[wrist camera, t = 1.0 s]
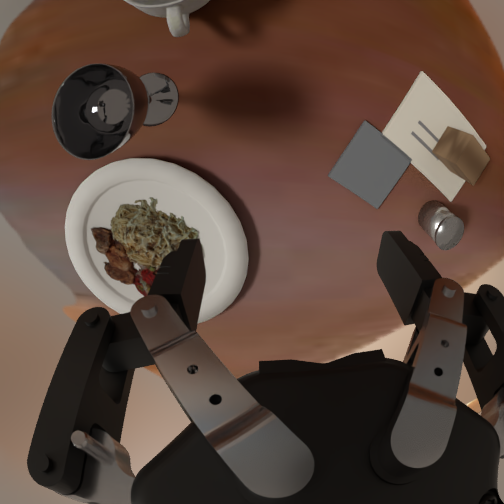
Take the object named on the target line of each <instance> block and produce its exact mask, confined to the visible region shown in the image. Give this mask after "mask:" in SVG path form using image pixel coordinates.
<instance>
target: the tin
mask: <svg viewBox="0 0 504 504" xmlns="http://www.w3.org/2000/svg"><path fill="white" fill-rule="evenodd" d="M418 222H419V225H420V226H421V227H422V229H423V230H424V231H425V232H426V233H427V234H428V235H429V236H430V237H431V238H432V239H433V240H434V241H435V243H436V245H437V246H438V247H439V248H440V249H442V250H449V249H451V248H453V247H455V246H456V245H457V244H458V243H459V241H460V240H461V238H462V236H463V232H464V224H463V222H462V220H461V219H460V218H459V217H457V216H455V215H454V214H453V213H452V212H451V211H450V210H448V209H447V208H446V207H445V206H444V205H442V204H441V203H440V202H438V201H436V200H432V201H429V202H427V203H426V204H425V205H423V207H422V208H421V210H420V212H419V215H418Z"/></svg>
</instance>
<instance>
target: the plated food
mask: <svg viewBox="0 0 504 504" xmlns="http://www.w3.org/2000/svg"><path fill="white" fill-rule="evenodd" d="M65 237H66V244H67V248H68V252H69V256H70V258H71V261H72V263H73V265H74V267H75V270H76V271H77V273H78V274H79V276H80V278H81V279H82V281H83V282H84V284H85V285H86V286H87V287H88V288H89V289H90V290H91V291H92V293H93V294H94V295H95V296H96V297H98V298H99V299H100V300H101V301H102V302H104V303H105V304H106V305H107V306H109V307H110V308H112V309H113V310H115V311H117V312H118V313H120V314H124V313H128V312H130V310H131V307H132V305H133V304H134V303H135V302H136V301H137V300H139V299H140V298H142V297H145V296H147V295H148V292H149V290H150V288H151V285H152V283H153V281H154V278H155V276H156V274H157V271H158V269H159V268H160V264H161V262H162V260H163V258H164V257H165V256H166V255H167V254H169V253H170V252H171V251H177V250H178V247H179V245H180V242H181V240H182V239H198V238H199V239H200V242H201V246H202V252H203V258H204V263H205V269H206V283H205V288H204V293H203V298H202V303H201V308H200V313H199V318H198V323H201V322H204V321H207V320H209V319H211V318H213V317H214V316H216V315H218V314H220V313H221V312H223V311H224V310H225V309H226V308H227V307H228V306H229V305H230V304H231V303H233V301H234V300H235V298H236V297H237V295H238V294H239V292H240V291H241V289H242V286H243V284H244V281H245V279H246V276H247V269H248V261H249V256H248V247H247V239H246V237H245V234H244V231H243V228H242V225H241V222H240V220H239V219H238V217H237V215H236V214H235V212H234V210H233V209H232V207H231V205H230V204H229V202H228V201H227V200H226V199H225V198H224V197H223V196H222V195H221V194H220V193H219V192H218V191H217V189H216V188H215V187H214V186H212V185H211V184H210V183H208V182H207V181H205V180H204V179H203V178H201V177H200V176H199V175H197V174H196V173H194V172H192V171H190V170H188V169H185V168H183V167H181V166H179V165H177V164H175V163H171V162H166V161H162V160H158V159H153V158H130V159H125V160H120V161H116V162H112V163H110V164H108V165H106V166H104V167H102V168H100V169H98V170H96V171H95V172H94V173H92V174H91V175H90V176H89V177H88V178H87V179H85V180H84V181H83V182H82V183H81V185H80V186H79V188H78V189H77V190H76V192H75V193H74V195H73V197H72V199H71V202H70V204H69V207H68V210H67V215H66V221H65Z"/></svg>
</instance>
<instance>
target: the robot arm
mask: <svg viewBox="0 0 504 504" xmlns="http://www.w3.org/2000/svg"><path fill="white" fill-rule="evenodd" d="M377 271H378V274H379V276H380V278H381V279H382V281H383V283H384V285H385V287H386V289H387V291H388V293H389V295H390V297H391V299H392V301H393V303H394V305H395V307H396V309H397V311H398V313H399V315H400V317H401V319H402V321H403V323H404V325H409V324H415V325H416V327H415V330H414V332H413V335H412V338H411V341H410V344H409V347H408V349H407V352H406V355H405V358H404V361H403V362H401V361H398V360H394V359H389V358H385V357H384V354H383V351H382V349H380V350H374V351H367V352H360V353H354V354H351V355H348V356H346V357H343V358H340V359H337V360H335V361H332V362H329V363H314V362H306V361H298V360H275V361H259V370H258V371H254V372H251V373H249V374H246V375H244V376H242V377H240V378H238V379H236V378H235V377H234V376H233V375H232V374H231V372H230V371H229V370H228V369H227V368H226V367H225V365H224V364H223V363H222V362H221V361H220V360H219V358H218V357H217V356H216V355H215V354H214V353H213V351H212V350H211V349H210V348H209V347H208V345H207V344H206V343H205V342H204V340H203V339H202V338H201V337H200V335H199V334H198V333H197V332H196V329H197V324H198V318H199V313H200V308H201V303H202V298H203V293H204V288H205V283H206V269H205V263H204V258H203V252H202V246H201V242H200V239H199V238H198V239H182V240H181V242H180V245H179V247H178V250H177V251H171V252H170V253H169V254H167V255H166V256H165V257H164V258H163V260H162V262H161V264H160V268H159V269H158V271H157V274H156V276H155V278H154V281H153V283H152V285H151V288H150V290H149V292H148V295H147V296H145V297H142V298H140V299H139V300H137V301H136V302H135V303H134V304H133V305H132V307H131V310H130V312H128V313H124V314H119V315H115V316H110V314H109V312H108V311H107V310H106V309H105V308H102V307H95V308H91V309H89V310H87V311H85V312H84V313H83V314H82V315H81V316H80V317H79V318H78V320H77V322H76V324H75V326H74V328H73V331H72V333H71V335H70V337H69V339H68V342H67V344H66V346H65V348H64V351H63V353H62V356H61V358H60V360H59V363H58V365H57V368H56V370H55V373H54V375H53V378H52V380H51V383H50V386H49V388H48V391H47V394H46V397H45V400H44V403H43V406H42V409H41V412H40V415H39V418H38V421H37V424H36V428H35V431H34V435H33V438H32V442H31V446H30V450H29V454H28V459H27V465H28V470H29V473H30V475H31V477H32V478H33V479H34V481H36V482H37V483H38V484H40V485H42V486H44V487H46V488H48V489H51V490H53V491H55V492H56V493H58V494H60V495H63V496H65V497H68V498H71V499H74V500H77V501H79V502H83V503H89V504H504V503H503V502H502V500H501V499H500V497H499V495H498V489H497V477H498V465H499V459H500V458H504V296H503V295H502V293H501V292H500V291H499V290H498V289H496V288H495V287H493V286H491V285H487V284H484V285H481V286H480V287H479V289H478V291H477V294H472V293H464V290H463V288H462V287H461V286H460V285H459V284H458V283H457V282H455V281H454V280H452V279H449V278H442V277H441V275H440V274H439V273H438V271H437V270H436V269H435V267H434V266H433V265H432V263H431V262H430V261H429V259H428V258H427V257H426V256H425V255H424V253H423V252H422V251H421V249H420V248H419V247H418V246H416V245H415V244H414V243H412V242H411V241H408V239H407V238H406V237H405V236H404V234H403V233H402V232H401V231H385V232H384V233H383V235H382V239H381V244H380V249H379V254H378V259H377ZM489 329H490V331H491V333H492V335H493V337H494V338H495V340H496V344H497V349H496V352H495V354H494V355H492V353H491V351H490V349H489V347H488V345H487V343H486V341H485V339H484V336H485V335H486V333H487V332H488V330H489ZM463 362H464V365H465V367H466V369H467V372H468V374H469V377H470V379H471V382H472V384H473V387H474V390H475V393H476V395H477V398H478V401H479V404H480V407H481V410H482V413H481V416H480V415H479V414H478V413H476V412H475V411H473V410H472V409H471V408H469V407H468V406H466V405H465V404H464V403H462V402H461V401H459V400H458V399H457V398H456V394H457V389H458V385H459V380H460V375H461V370H462V363H463ZM154 364H155V365H156V367H157V369H158V370H159V372H160V374H161V375H162V377H163V379H164V380H165V382H166V384H167V385H168V387H169V388H170V390H171V392H172V393H173V395H174V396H175V398H176V400H177V401H178V403H179V404H180V406H181V408H182V409H183V411H184V412H185V414H186V415H187V417H188V418H189V420H190V421H191V423H190V424H189V425H188V426H187V427H186V428H185V429H184V430H183V431H182V432H181V433H180V434H179V435H178V436H177V437H176V438H175V439H174V440H173V441H172V442H170V444H168V445H167V446H166V447H165V448H164V449H163V450H162V451H161V452H160V453H159V454H157V456H155V457H154V458H153V459H152V460H151V461H150V462H149V463H147V464H146V465H145V466H144V467H143V468H142V469H141V470H140V471H139V472H138V474H137V475H136V477H135V475H134V474H133V472H132V470H131V466H130V456H129V453H128V451H127V450H126V448H125V447H124V446H123V445H121V444H120V440H121V434H122V428H123V422H124V417H125V412H126V407H127V401H128V397H129V393H130V388H131V384H132V379H133V375H134V371H135V368H140V367H144V366H149V365H154Z"/></svg>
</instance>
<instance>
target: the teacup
mask: <svg viewBox="0 0 504 504" xmlns="http://www.w3.org/2000/svg"><path fill="white" fill-rule="evenodd" d="M124 1H126V2H127V3H129V4H131V5H133V6H135V7H136V8H138V9H139V10H141V11H143V12H145V13H147V14H149V15H152V16H156V17H167V23H168V26H169V29H170V32H171V33H172V35H173V36H175V37H181V36H184V35H186V34H188V33H189V27H190V25H189V13H191V12H194V11H196V10H198V9H199V8H201V7H203V6H204V5H205V4H207V3H208V2H209V1H210V0H124Z"/></svg>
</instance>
